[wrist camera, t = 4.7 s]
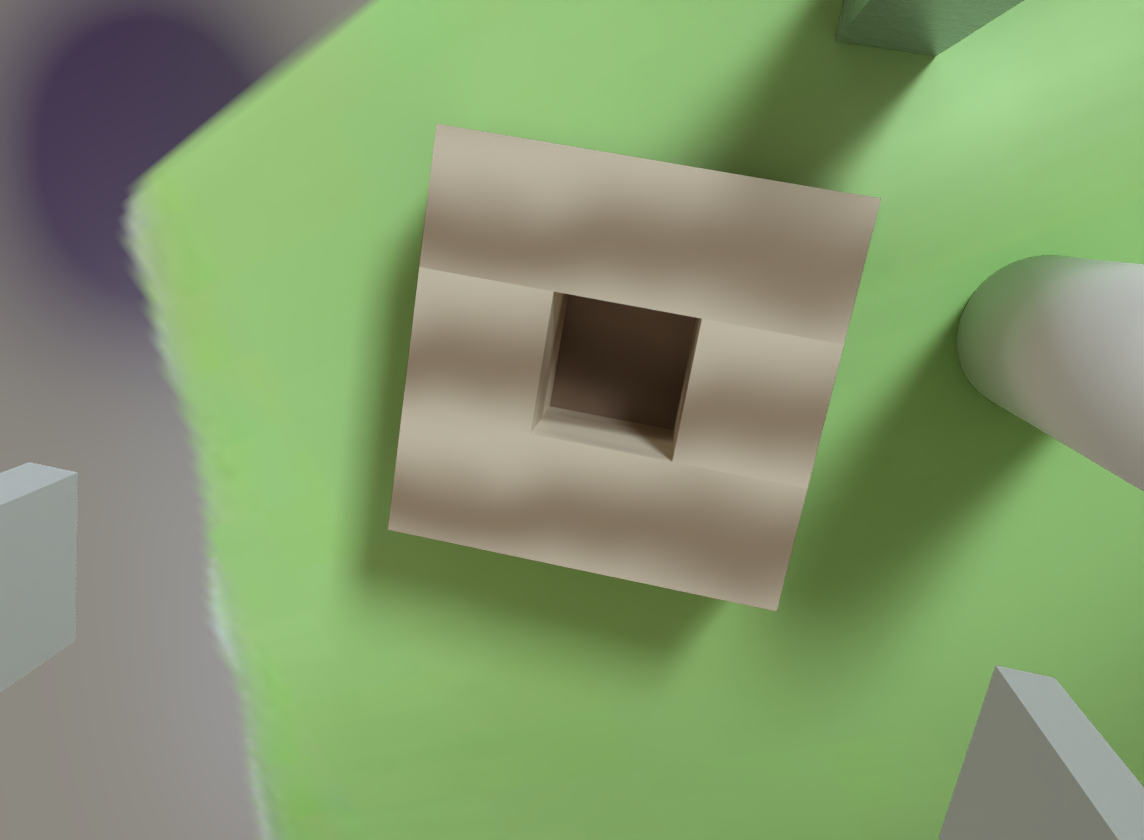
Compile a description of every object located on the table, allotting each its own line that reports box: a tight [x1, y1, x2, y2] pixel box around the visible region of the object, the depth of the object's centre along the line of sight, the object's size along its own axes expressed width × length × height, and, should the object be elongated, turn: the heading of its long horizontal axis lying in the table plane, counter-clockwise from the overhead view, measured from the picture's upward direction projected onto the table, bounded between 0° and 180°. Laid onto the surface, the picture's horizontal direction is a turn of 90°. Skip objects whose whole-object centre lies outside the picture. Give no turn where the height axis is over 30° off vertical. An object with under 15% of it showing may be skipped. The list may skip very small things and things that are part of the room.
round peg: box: [957, 255, 1144, 491], centre depth 29 cm, size 7×7×12 cm
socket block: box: [388, 124, 881, 611], centre depth 35 cm, size 16×16×6 cm
